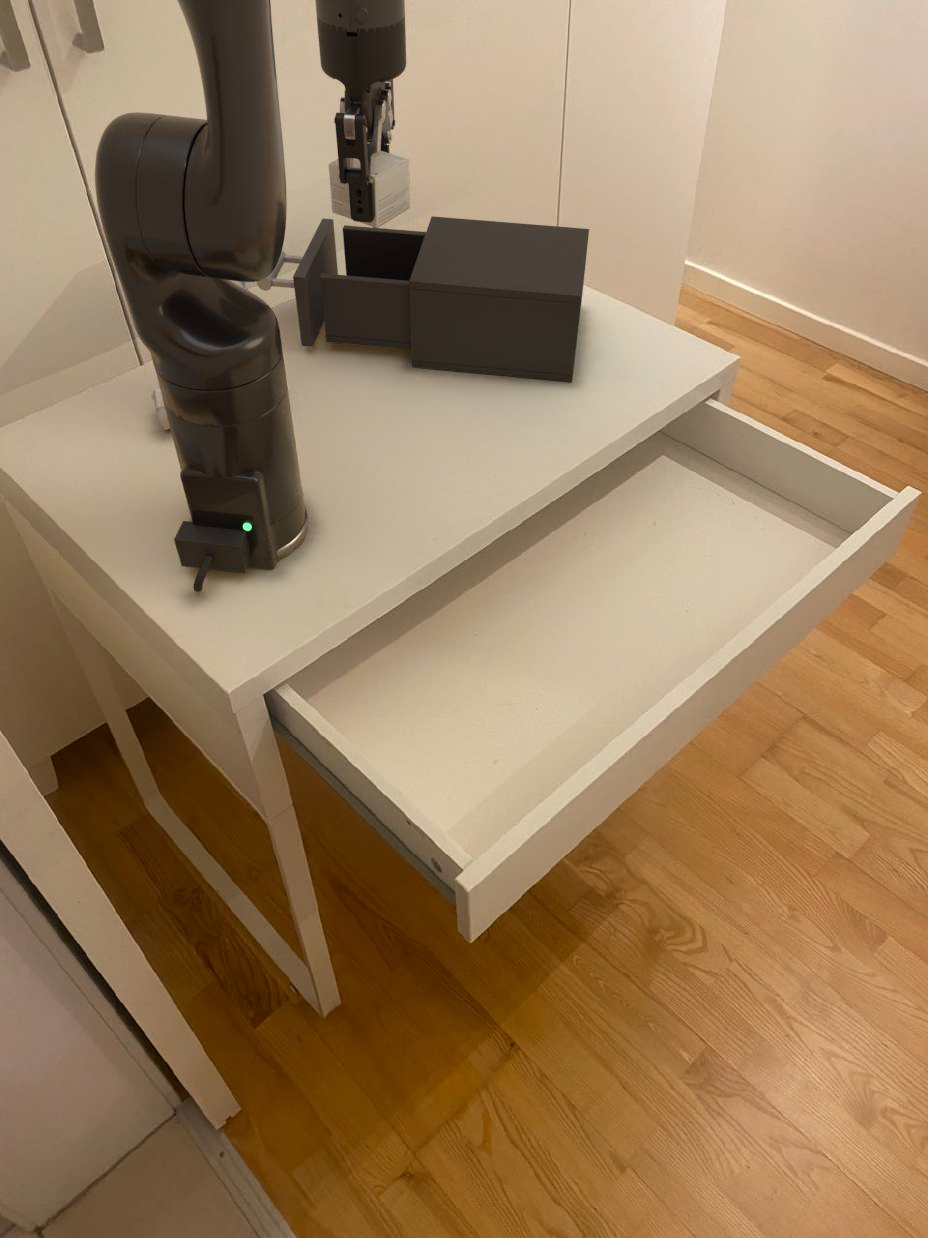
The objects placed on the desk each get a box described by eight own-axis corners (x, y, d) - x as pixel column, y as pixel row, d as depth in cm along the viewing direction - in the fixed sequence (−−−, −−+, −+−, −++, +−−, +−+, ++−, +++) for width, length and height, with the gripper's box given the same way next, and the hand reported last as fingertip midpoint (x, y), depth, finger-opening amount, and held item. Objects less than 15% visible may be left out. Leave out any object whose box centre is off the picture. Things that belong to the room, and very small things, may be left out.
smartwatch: (183, 435, 91) (174, 399, 88) (159, 438, 90) (150, 403, 87) (179, 413, 93) (171, 377, 90) (157, 416, 93) (147, 381, 90)
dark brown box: (411, 367, 99) (409, 280, 92) (432, 299, 108) (431, 215, 101) (571, 382, 98) (582, 295, 91) (579, 312, 107) (589, 228, 100)
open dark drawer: (255, 341, 100) (243, 272, 94) (285, 282, 108) (276, 214, 102) (448, 359, 98) (449, 289, 93) (465, 297, 107) (466, 229, 101)
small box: (412, 207, 95) (410, 157, 91) (376, 230, 92) (374, 178, 88) (366, 192, 97) (363, 142, 93) (330, 214, 94) (325, 162, 90)
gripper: (336, -19, 86) (349, 167, 99) (296, 34, 77) (316, 233, 89) (418, -14, 86) (421, 172, 98) (388, 41, 76) (395, 239, 88)
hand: (371, 201), depth 93 cm, fingers closed on small box, 7 cm apart
